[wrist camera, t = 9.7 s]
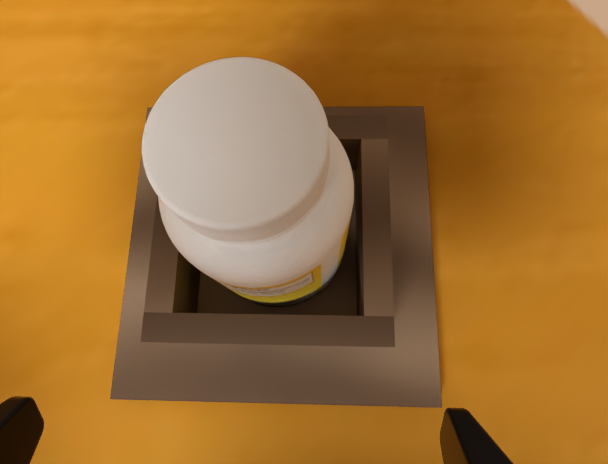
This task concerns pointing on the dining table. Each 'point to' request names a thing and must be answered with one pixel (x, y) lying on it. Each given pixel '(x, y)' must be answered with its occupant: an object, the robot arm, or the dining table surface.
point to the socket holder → (306, 316)
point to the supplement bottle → (250, 179)
